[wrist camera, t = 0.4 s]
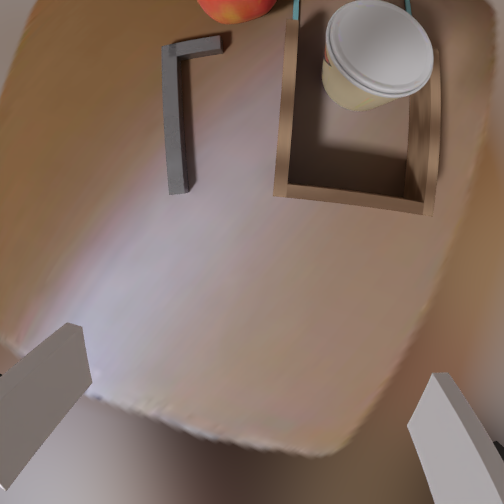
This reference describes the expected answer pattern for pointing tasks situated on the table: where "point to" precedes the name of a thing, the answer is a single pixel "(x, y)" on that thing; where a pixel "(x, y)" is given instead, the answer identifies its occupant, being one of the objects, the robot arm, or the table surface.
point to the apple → (236, 9)
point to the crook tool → (179, 104)
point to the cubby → (418, 155)
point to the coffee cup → (374, 55)
